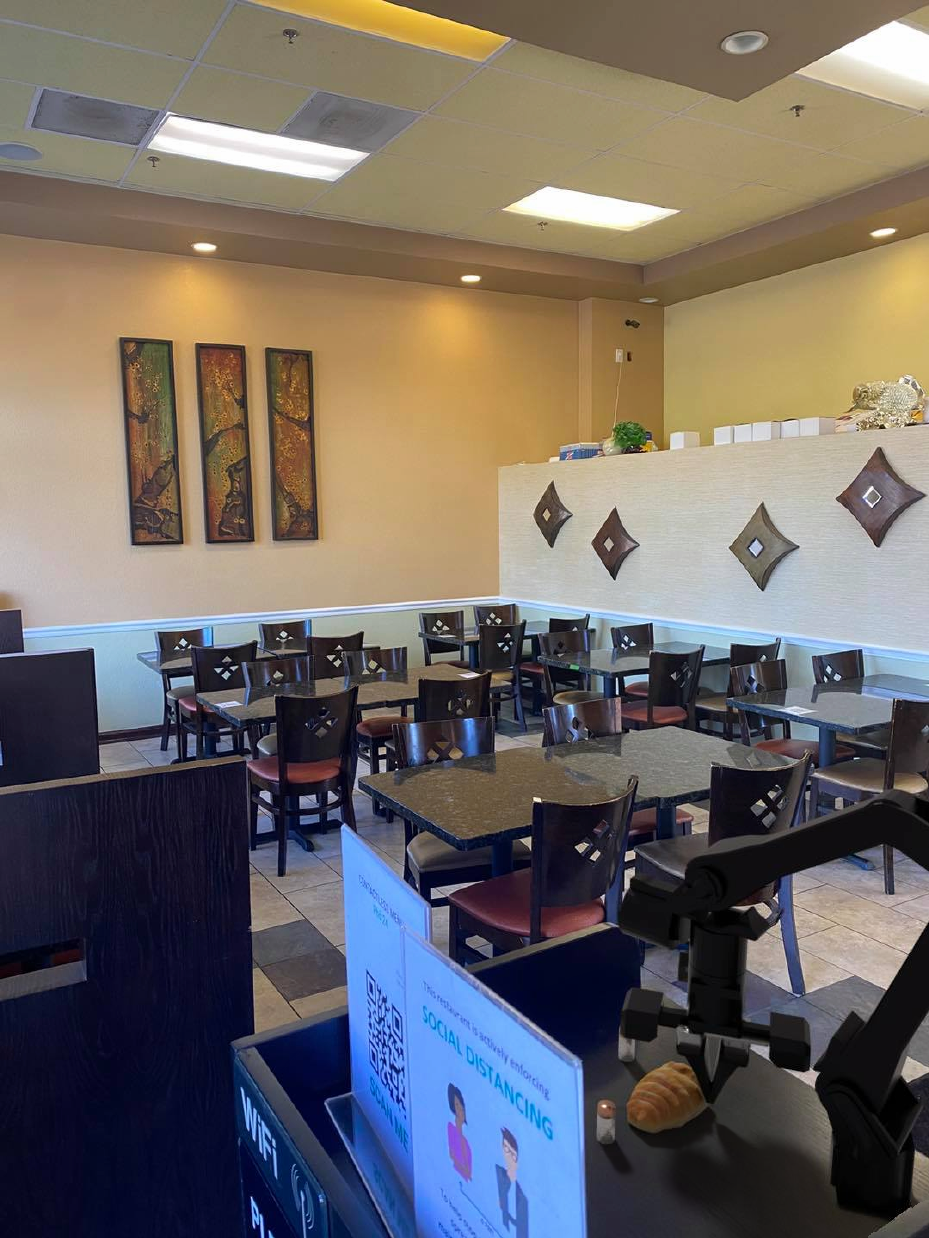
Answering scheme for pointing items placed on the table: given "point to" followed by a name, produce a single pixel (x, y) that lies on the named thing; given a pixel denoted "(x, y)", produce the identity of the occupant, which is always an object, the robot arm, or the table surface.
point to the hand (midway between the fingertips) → (710, 1101)
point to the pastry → (666, 1098)
